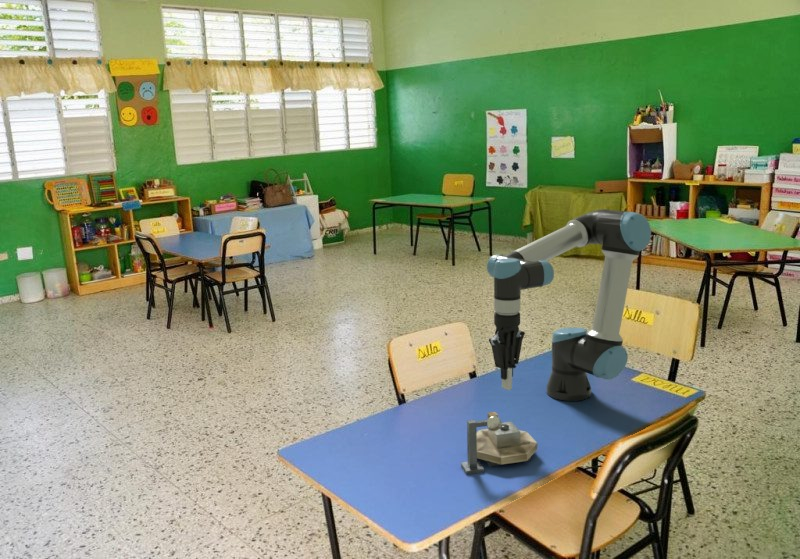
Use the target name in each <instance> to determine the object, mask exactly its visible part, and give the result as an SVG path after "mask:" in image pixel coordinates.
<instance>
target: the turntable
mask: <svg viewBox="0 0 800 559" xmlns="http://www.w3.org/2000/svg"><path fill="white" fill-rule="evenodd" d="M491 416H497V417H498V418H499V414H498V413H497V412H496V411H491V412H487V419H488V418H489V417H491ZM519 431H520V432H521V445H516V446H509V447H502V448H496V446H495V445H494V444H493V443H492V441H491V440H490V439H489V438H488V428H484V429H479V430H478V431H477V460H482V461H485V460H486V461H490V462H494V463H498V464H503V465H509V464H508V463H510V464H516V463H515V462H517V463H523V462H522V461H524V462H528V461H527V460H528V459H529V458H530V457H532V456H533V455H534V454H535V453H536V452H537V451H538V442H537V441H536V440H535V439H534V437H532V436H531V434H530V433H529V432H528V431H524V430H520V429H519ZM486 461H485V462H486Z"/></svg>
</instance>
